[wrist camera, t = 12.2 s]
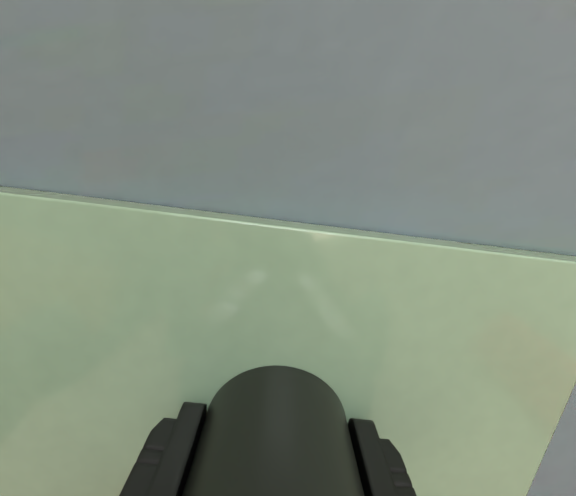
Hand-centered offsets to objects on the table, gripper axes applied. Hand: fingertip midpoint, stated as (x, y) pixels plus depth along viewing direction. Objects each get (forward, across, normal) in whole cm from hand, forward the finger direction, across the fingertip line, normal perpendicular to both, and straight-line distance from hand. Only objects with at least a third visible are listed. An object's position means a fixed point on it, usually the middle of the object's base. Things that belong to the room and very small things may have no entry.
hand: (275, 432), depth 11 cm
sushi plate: (+1, 0, 0) cm, 1 cm away
